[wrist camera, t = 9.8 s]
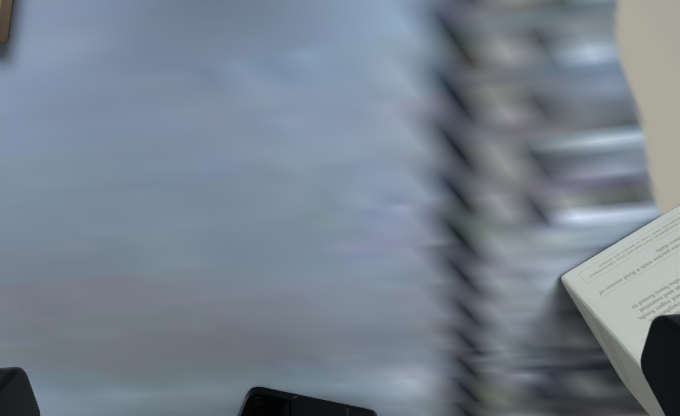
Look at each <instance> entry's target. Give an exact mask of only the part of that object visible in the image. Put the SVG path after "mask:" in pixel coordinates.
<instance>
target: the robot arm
mask: <svg viewBox="0 0 680 416" xmlns="http://www.w3.org/2000/svg"><path fill="white" fill-rule="evenodd" d="M640 363H641V369H642V372H643V375H644V377H645V379H646V381H647V383H648V384H649V386H650V388H651V390H652V392H653V394H654V396H655V398H656V399H657V401H658V403H659V405H660V407H661V409H662V411H663V413H664V414H665V416H680V314H669V315H660V316H657V317H655V318H654V320H653V321H652V322H651V325H650V328H649V331H648V334H647V338H646V341H645V344H644V348H643V351H642V354H641V360H640ZM256 397H260V398H261V399H255V398H256ZM0 416H40V410H39V407H38V404H37V401H36V399H35V396H34V393H33V390H32V387H31V385H30V382H29V379H28V376H27V374H26V372H25V371H24V370H23V369H22V368H19V367H8V368H0ZM238 416H377V414H376V413H375V411H373V410H369V409H365V408H360V407H355V406H350V405H345V404H341V403H336V402H331V401H326V400H321V399H317V398H312V397H307V396H302V395H297V394H293V393H288V392H283V391H278V390H273V389H269V388H264V387H254V388H252V389H250V390H249V392H248V393H247V396H246V398H245V401H244V403H243V405H242V408H241V410H240V413H239V415H238Z"/></svg>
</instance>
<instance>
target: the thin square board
mask: <svg viewBox="0 0 680 416" xmlns="http://www.w3.org/2000/svg"><path fill="white" fill-rule="evenodd" d="M12 3H13V0H0V44H2V43H5V42H8V34H9V26H10V19H11V11H12Z"/></svg>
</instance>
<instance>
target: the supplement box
mask: <svg viewBox="0 0 680 416" xmlns="http://www.w3.org/2000/svg"><path fill="white" fill-rule="evenodd" d="M561 281H562V283H563V285H564V286H565V288H566V290H567V291H568V293H569V295H570V296H571V298H572V300H573V301H574V303H575V305H576V306H577V308H578V310H579V311H580V313H581V315H582V316H583V318H584V319H585V321H586V323H587V324H588V326H589V328H590V329H591V331H592V333H593V334H594V336H595V337H596V339H597V341H598V342H599V344H600V346H601V347H602V349H603V351H604V352H605V354H606V356H607V357H608V359H609V361H610V362H611V364H612V366H613V367H614V369H615V371H616V372H617V374H618V376H619V377H620V379H621V380H622V382H623V383H624V384H625V386H626V387H627V388H628V389H629V391H630V392H631V393H632V394H633V396H634V397H635V398H636V399H637V401H638V402H639V403H640V404H641V405H642V407H643V408H644V409H645V410H646V412H647V413H648V414H649V415H650V416H665V414H664V413H663V411H662V409H661V407H660V405H659V403H658V401H657V399H656V398H655V396H654V394H653V392H652V390H651V388H650V386H649V384H648V383H647V381H646V379H645V377H644V375H643V372H642V369H641V363H640V360H641V354H642V351H643V348H644V344H645V341H646V338H647V334H648V331H649V328H650V325H651V322H652V321H653V320H654V318H655V317H657V316H660V315H669V314H680V205H679V206H677V207H675V208H673V209H672V210H670V211H668V212H667V213H665V214H663V215H662V216H660V217H658V218H657V219H655V220H653V221H652V222H650V223H648V224H647V225H645V226H643V227H642V228H640V229H638V230H637V231H635V232H634V233H632V234H630V235H629V236H627V237H625V238H624V239H622V240H620V241H619V242H617V243H615V244H614V245H612V246H610V247H609V248H607V249H605V250H604V251H602V252H600V253H599V254H597V255H595V256H594V257H592V258H590V259H589V260H587V261H585V262H584V263H582V264H580V265H579V266H577V267H575V268H574V269H572V270H570V271H569V272H567V273H565V274H564V275H563V276H562V277H561Z"/></svg>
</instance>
